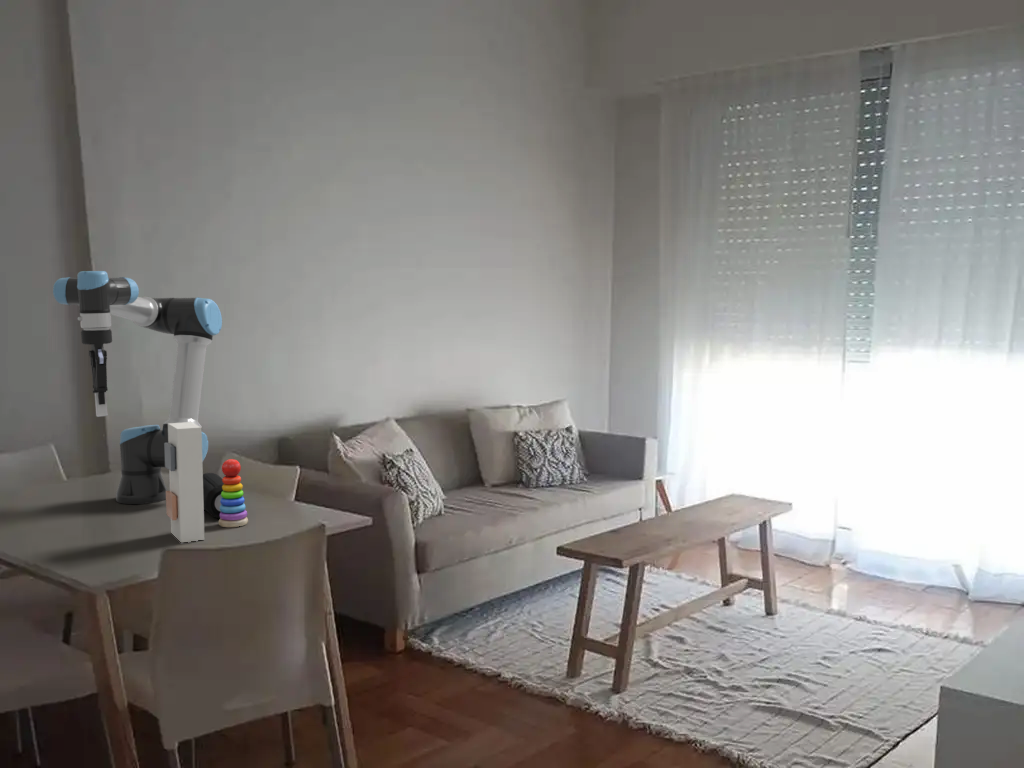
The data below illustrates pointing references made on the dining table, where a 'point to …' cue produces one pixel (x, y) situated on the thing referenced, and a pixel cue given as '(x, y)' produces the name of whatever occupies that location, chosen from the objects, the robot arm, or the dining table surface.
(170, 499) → the lower button
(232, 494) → the stacking toy
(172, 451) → the upper button
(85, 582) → the dining table surface
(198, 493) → the button panel
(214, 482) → the portable speaker
